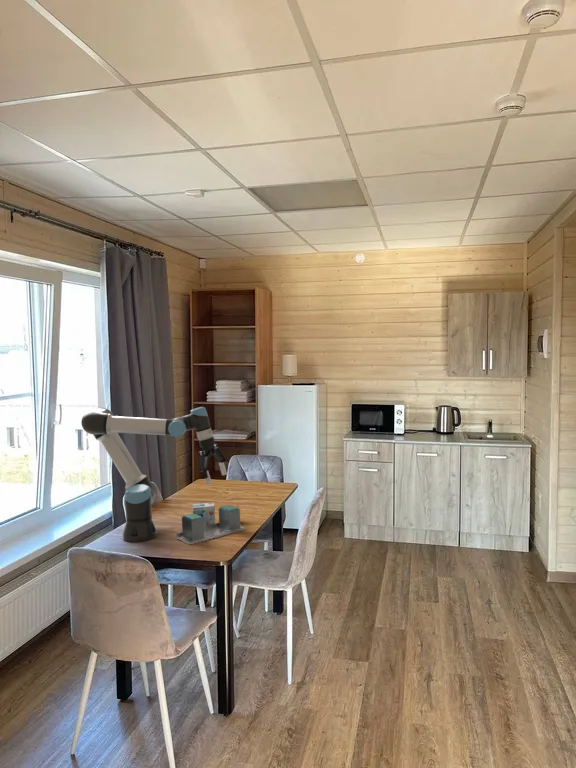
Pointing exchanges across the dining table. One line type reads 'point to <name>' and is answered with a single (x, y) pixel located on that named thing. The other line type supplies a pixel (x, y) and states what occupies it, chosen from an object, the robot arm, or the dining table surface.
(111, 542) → the dining table surface
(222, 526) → the grey u-shaped stand
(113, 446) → the robot arm
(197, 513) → the light bulb box
